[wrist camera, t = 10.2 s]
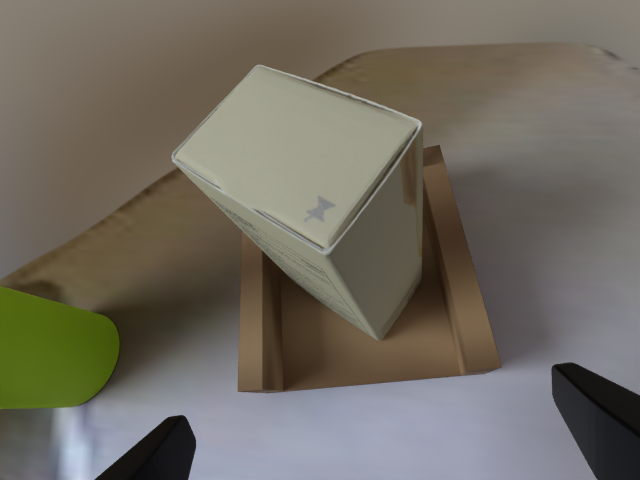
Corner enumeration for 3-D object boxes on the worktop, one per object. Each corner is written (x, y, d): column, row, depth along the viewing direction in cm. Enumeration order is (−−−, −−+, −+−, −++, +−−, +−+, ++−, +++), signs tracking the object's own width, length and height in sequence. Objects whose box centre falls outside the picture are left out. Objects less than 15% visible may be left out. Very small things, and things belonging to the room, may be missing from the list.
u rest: (484, 373, 17) (502, 367, 14) (267, 393, 19) (237, 391, 16) (435, 183, 22) (439, 144, 19) (266, 214, 24) (243, 184, 21)
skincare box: (424, 278, 19) (442, 122, 8) (380, 345, 18) (337, 266, 7) (331, 225, 22) (255, 53, 11) (289, 281, 21) (161, 153, 10)
